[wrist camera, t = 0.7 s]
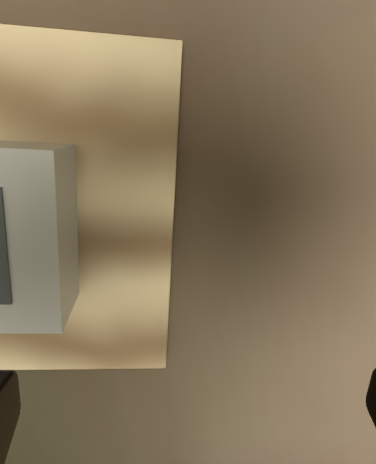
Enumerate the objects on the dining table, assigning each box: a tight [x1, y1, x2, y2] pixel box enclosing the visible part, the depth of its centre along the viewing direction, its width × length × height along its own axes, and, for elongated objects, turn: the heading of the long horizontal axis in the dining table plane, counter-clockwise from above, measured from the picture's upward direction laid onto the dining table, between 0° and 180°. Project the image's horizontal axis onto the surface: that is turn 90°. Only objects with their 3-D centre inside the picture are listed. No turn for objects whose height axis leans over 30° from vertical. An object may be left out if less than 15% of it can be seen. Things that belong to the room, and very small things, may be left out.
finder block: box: [0, 140, 79, 334], centre depth 16 cm, size 8×6×4 cm
